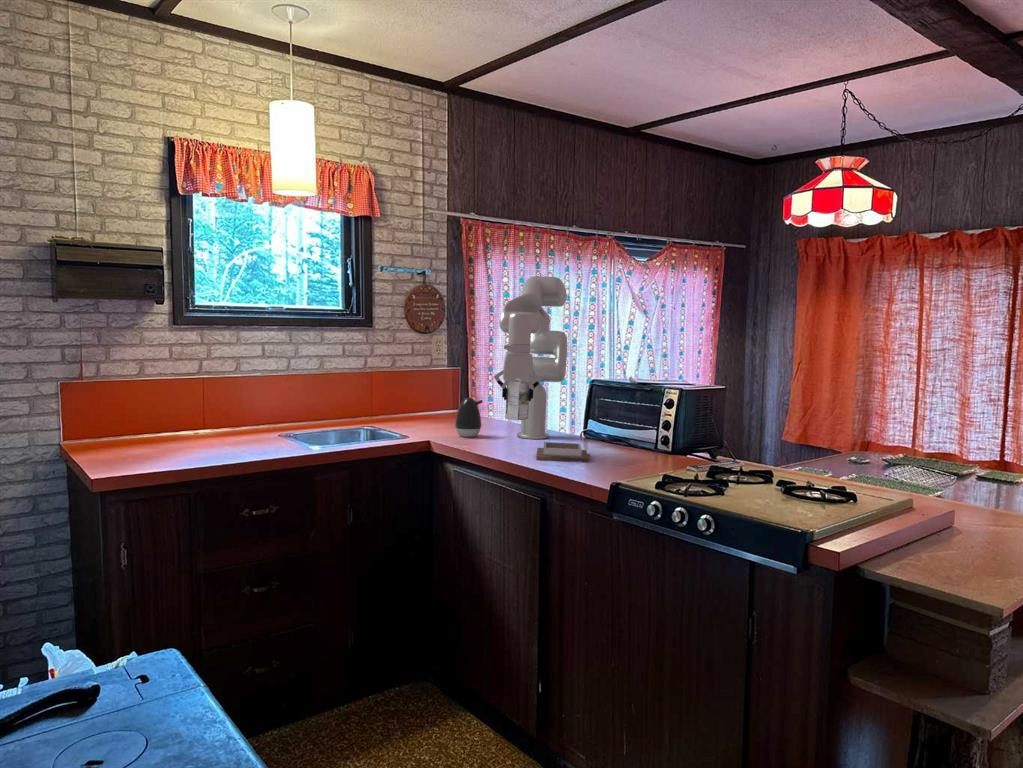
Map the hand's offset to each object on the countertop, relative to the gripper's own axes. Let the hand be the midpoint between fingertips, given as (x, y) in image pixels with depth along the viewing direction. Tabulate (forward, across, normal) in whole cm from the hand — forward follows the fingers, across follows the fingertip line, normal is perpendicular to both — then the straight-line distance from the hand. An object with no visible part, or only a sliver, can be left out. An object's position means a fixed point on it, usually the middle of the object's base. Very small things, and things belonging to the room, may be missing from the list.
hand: (517, 400), depth 254 cm
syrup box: (+7, 0, 0) cm, 7 cm away
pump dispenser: (+19, -20, +31) cm, 42 cm away
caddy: (+18, +16, -4) cm, 24 cm away
